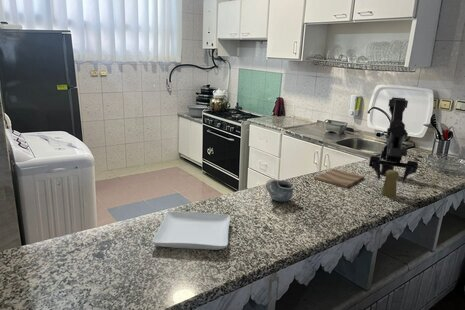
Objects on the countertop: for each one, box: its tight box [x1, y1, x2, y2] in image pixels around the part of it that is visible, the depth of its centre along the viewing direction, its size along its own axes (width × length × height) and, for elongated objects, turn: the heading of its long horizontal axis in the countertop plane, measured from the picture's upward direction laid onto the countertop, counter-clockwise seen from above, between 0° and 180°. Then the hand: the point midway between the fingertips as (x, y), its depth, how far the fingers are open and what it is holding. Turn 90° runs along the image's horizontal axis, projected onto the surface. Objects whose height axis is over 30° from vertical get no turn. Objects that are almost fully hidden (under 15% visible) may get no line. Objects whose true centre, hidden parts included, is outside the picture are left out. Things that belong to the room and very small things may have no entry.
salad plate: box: [151, 210, 231, 251], centre depth 104 cm, size 21×21×3 cm
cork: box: [380, 169, 400, 199], centre depth 145 cm, size 6×6×11 cm
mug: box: [265, 177, 295, 203], centre depth 133 cm, size 10×12×10 cm
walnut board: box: [314, 168, 365, 189], centre depth 165 cm, size 20×16×1 cm
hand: (390, 181), depth 144 cm, fingers open, 9 cm apart
